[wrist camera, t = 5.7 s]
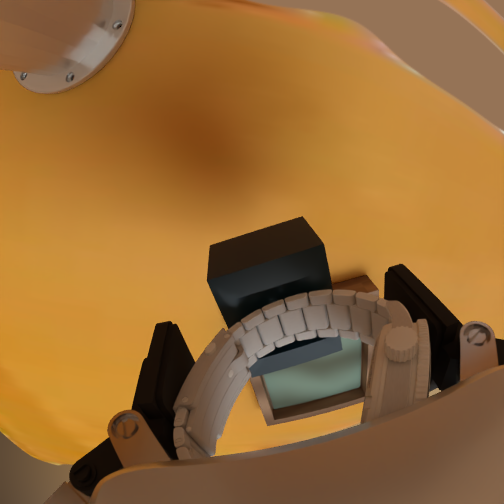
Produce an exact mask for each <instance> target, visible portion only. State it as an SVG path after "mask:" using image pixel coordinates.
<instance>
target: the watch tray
mask: <svg viewBox="0 0 504 504" xmlns="http://www.w3.org/2000/svg"><path fill="white" fill-rule="evenodd" d="M332 288H333V290H353V291H356V294H357V293H358V292H363V293H368V294H372V295H375V296H378V297H379V290H378V288H377V287H376V286H375V285H374V283H373V282H372V281H371V280H370V279H369V277H368V276H367V275H365V276H362V277H358V278H354V279H351V280H347V281H343V282H339V283H336V284H332ZM341 342H342V349H343V350H341V351H338V352H335V353H333V354H330V355H327V356H324V357H321V358H318V359H315V360H312V361H308V362H305V363H302V364H299V365H296V366H292V367H289V368H286V369H282V370H279V371H275V372H272V373H268V374H264V375H261V376H257V377H253V378H252V377H250V380H251V383H252V386H253V389H254V391H255V394H256V397H257V400H258V402H259V405H260V408H261V410H262V413H263V416H264V418H265V421H266V424H267V426H270V425H275V424H280V423H285V422H290V421H294V420H299V419H303V418H307V417H311V416H315V415H319V414H323V413H327V412H331V411H334V410H338V409H341V408H345V407H348V406H351V405H354V404H358V403H361V402H364V399H365V392H366V386H367V380H368V375H369V369H370V363H371V358H372V353H373V349H374V347H373V346H371V345H369V344H366V343H364V342H362V341H361V340H360V338H359V339H358V340H353V339H348V338H342V337H341Z"/></svg>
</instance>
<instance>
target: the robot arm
mask: <svg viewBox="0 0 504 504" xmlns="http://www.w3.org/2000/svg"><path fill="white" fill-rule="evenodd" d="M134 10H135V0H0V69H1V70H10V71H13V73H14V75H15V78H16V79H17V80H18V82H19V83H20V84H21V85H22V86H23V87H25V88H26V89H27V90H30V91H33V92H36V93H43V94H53V93H60V92H63V91H67V90H70V89H72V88H74V87H76V86H78V85H80V84H82V83H83V82H85V81H86V80H88V79H89V78H91V77H92V76H93V75H95V74H96V73H97V72H98V71H99V70H100V69H102V68H103V67H104V66H105V64H106V63H107V62H108V61H109V60H110V59H111V58H112V57H113V56H114V54H115V53H116V51H117V50H118V49H119V47H120V46H121V44H122V43H123V41H124V39H125V37H126V35H127V33H128V31H129V28H130V26H131V23H132V20H133V16H134ZM121 25H122V26H121ZM120 26H121V27H120ZM119 27H120V28H119ZM118 28H119V29H118ZM73 77H74V79H73ZM384 299H385V300H388V301H399V302H400V303H401V304H403V306H404V307H405V308H406V309H407V311H408V312H409V314H410V317H411V319H412V322H413V323H416V322H417V320H418V319H426V321H427V324H428V327H429V337H430V349H431V373H430V389H429V392H430V391H432V390H434V389H436V388H439V390H441V392H439V393H437V394H435V395H432V396H430V397H428V398H426V399H424V400H421V401H419V402H417V403H415V404H412V405H410V406H408V407H405V408H403V409H400V410H398V411H396V412H393V413H390V414H388V415H385V416H383V417H380V418H377V419H374V420H372V421H369V422H366V423H363V424H360V425H357V426H354V427H351V428H348V429H345V430H341V431H338V432H335V433H331V434H328V435H324V436H320V437H317V438H313V439H309V440H305V441H301V442H297V443H292V444H288V445H283V446H278V447H273V448H268V449H263V450H257V451H251V452H245V453H238V454H231V455H223V456H214V457H205V458H195V459H183V460H179V458H178V456H177V452H176V449H177V448H176V447H175V445H174V438H173V431H174V428H175V426H174V420H175V416H176V414H175V412H174V410H173V406H174V403H175V401H176V398H177V396H178V394H179V392H180V389H181V387H182V385H183V383H184V381H185V380H186V378H187V376H188V374H189V372H190V371H191V369H192V367H193V366H194V364H195V361H194V359H193V357H192V355H191V353H190V351H189V349H188V347H187V345H186V343H185V340H184V338H183V336H182V334H181V332H180V330H179V328H178V326H177V324H172V322H171V321H167V322H162V323H157V324H156V326H155V330H154V333H153V337H152V341H151V345H150V349H149V353H148V357H147V358H145V359H144V361H143V363H142V367H141V371H140V375H139V379H138V383H137V387H136V392H135V396H134V400H133V405H132V409H131V410H124V411H121V412H119V413H117V414H116V415H115V416H114V417H113V418H112V419H111V420H110V422H109V424H108V429H107V431H108V435H109V438H107V439H106V440H105V441H103V442H102V443H101V444H99V445H98V446H97V447H96V448H94V449H93V450H92V451H90V452H89V453H88V454H86V455H85V456H84V457H82V458H81V459H80V460H78V461H77V462H76V463H75V464H74V465H73V466H72V468H71V470H70V474H69V478H70V481H69V482H68V483H67V482H64V483H63V484H62V485H61V486H60V487H59V488H58V489H57V490H56V491H55V492H54V493H53V494H52V495H51V496H50V497H49V498H48V499H47V500H46V501H45V503H44V504H504V340H502V339H496V338H495V335H494V332H493V330H492V329H491V327H490V326H488V325H487V324H485V323H483V322H479V321H471V322H468V323H466V324H465V325H462V324H461V322H460V321H459V320H458V319H457V318H456V317H455V316H454V315H453V314H452V313H451V312H450V311H449V310H448V308H447V307H446V306H445V305H444V304H443V303H442V302H441V301H440V300H439V299H438V298H437V297H436V296H435V295H434V294H433V293H432V292H431V291H430V290H429V289H428V288H427V287H426V286H425V285H424V284H423V283H422V282H421V281H420V280H419V279H418V278H417V277H416V276H415V275H414V274H413V273H412V272H411V271H410V270H409V269H407V268H406V267H405V266H404V265H403V264H399V265H395V266H392V267H389V268H388V272H386V273H385V286H384Z"/></svg>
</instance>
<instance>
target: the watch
mask: <svg viewBox="0 0 504 504" xmlns="http://www.w3.org/2000/svg"><path fill="white" fill-rule="evenodd" d="M207 282H208V284H209V287H210V289H211V291H212V293H213V296H214V298H215V300H216V302H217V305H218V307H219V309H220V311H221V313H222V316H223V318H224V320H225V322H226V324H227V326H228V330H227V331H225V329H224V328H222V329H221V331H220V332H219V333H218V334H217V335H216V336H215V338H214V339H213V340H212V341H211V342H210V344H209V345H208V346H207V347H206V348H205V350H204V352H203V353H202V354H201V356H200V357H199V358H198V360H197V361H196V363H195V364H194V366H193V367H192V369H191V371H190V372H189V374H188V376H187V378H186V380H185V381H184V383H183V385H182V387H181V389H180V392H179V394H178V396H177V398H176V401H175V403H174V406H173V410H174V412H175V414H176V416H175V420H174V426H175V428H174V431H173V438H174V445H175V447H176V448H177V449H176V452H177V456H178V458H179V460H183V459H195V458H205V457H210V456H213V455H215V450H216V442H217V439H219V438H220V437H221V436H222V433H223V430H224V427H225V424H226V421H227V418H228V416H229V413H230V411H231V409H232V407H233V405H234V403H235V401H236V399H237V397H238V395H239V394H240V392H241V390H242V389H243V387H244V386H245V384H246V383H247V381H248V380H249V378H250V377H252V378H253V377H257V376H261V375H264V374H268V373H272V372H275V371H279V370H282V369H286V368H289V367H292V366H296V365H299V364H302V363H305V362H308V361H312V360H315V359H318V358H321V357H324V356H327V355H330V354H333V353H335V352H338V351H341V350H343V349H342V342H341V337H342V338H348V339H353V340H358V339H359V338H360V340H361V341H362V342H364V343H366V344H369V345H371V346H373V347H374V349H373V353H372V358H371V363H370V369H369V375H368V380H367V386H366V392H365V399H364V405H363V411H362V417H361V424H363V423H366V422H369V421H372V420H374V419H377V418H380V417H383V416H385V415H388V414H390V413H393V412H396V411H398V410H400V409H403V408H405V407H408V406H410V405H412V404H415V403H417V402H419V401H421V400H424V399H426V398H428V397H429V389H430V373H431V349H430V337H429V327H428V324H427V321H426V319H418V320H417V322H416V323H413V322H412V319H411V317H410V314H409V312H408V311H407V309H406V308H405V307H404V306H403V304H401V303H400V302H399V301H388V300H385V299H382V298H380V299H379V297H378V296H375V295H372V294H368V293H363V292H358V293H357V294H356V291H353V290H333V288H332V283H331V277H330V272H329V267H328V262H327V257H326V252H325V247H324V243H323V242H322V241H321V239H320V238H319V237H318V236H317V234H316V233H315V232H314V230H313V229H312V228H311V227H310V225H309V224H308V223H307V221H306V220H305V219H304V218H303V216H302V217H298V218H295V219H292V220H289V221H286V222H282V223H279V224H276V225H273V226H270V227H266V228H263V229H260V230H257V231H254V232H251V233H247V234H244V235H241V236H238V237H235V238H232V239H229V240H225V241H222V242H219V243H216V244H213V245H210V250H209V261H208V273H207Z"/></svg>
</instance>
